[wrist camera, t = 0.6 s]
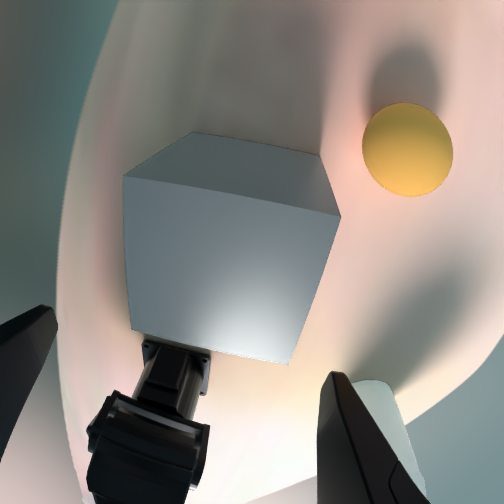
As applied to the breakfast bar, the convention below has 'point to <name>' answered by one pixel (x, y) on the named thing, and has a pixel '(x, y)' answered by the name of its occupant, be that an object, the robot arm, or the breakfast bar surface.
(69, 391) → the breakfast bar surface
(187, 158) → the matte grey cube
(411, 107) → the ball
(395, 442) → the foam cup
